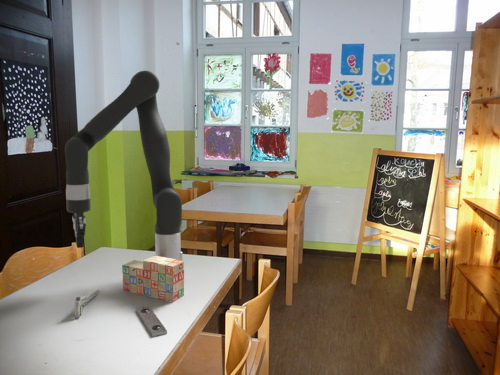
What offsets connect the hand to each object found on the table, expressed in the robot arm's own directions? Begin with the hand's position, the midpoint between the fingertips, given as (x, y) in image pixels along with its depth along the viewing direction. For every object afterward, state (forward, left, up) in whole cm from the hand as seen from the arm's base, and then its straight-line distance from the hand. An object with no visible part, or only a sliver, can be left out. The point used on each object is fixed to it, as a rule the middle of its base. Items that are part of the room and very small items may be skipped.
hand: (80, 247), depth 140 cm
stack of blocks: (-21, +16, -15) cm, 30 cm away
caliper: (0, +15, -15) cm, 21 cm away
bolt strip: (-14, +36, -15) cm, 41 cm away
